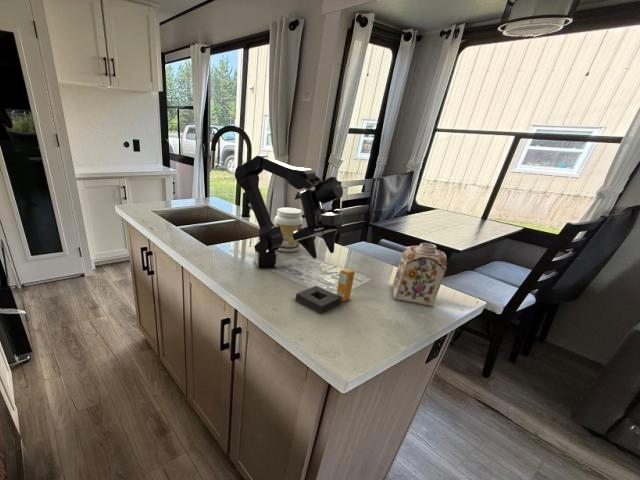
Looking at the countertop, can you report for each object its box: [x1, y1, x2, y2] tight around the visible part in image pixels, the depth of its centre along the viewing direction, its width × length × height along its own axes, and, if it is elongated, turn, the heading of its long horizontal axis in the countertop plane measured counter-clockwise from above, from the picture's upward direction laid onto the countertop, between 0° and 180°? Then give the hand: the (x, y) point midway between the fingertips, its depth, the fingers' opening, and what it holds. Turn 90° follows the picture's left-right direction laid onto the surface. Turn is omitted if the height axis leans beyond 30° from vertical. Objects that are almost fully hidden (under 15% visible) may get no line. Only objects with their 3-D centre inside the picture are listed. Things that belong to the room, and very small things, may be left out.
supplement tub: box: [273, 207, 304, 253], centre depth 143 cm, size 12×12×17 cm
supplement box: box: [336, 267, 356, 302], centre depth 104 cm, size 3×3×10 cm
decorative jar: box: [392, 242, 448, 307], centre depth 106 cm, size 12×12×18 cm
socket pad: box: [294, 285, 342, 315], centre depth 102 cm, size 10×10×2 cm
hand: (324, 255), depth 107 cm, fingers open, 9 cm apart
